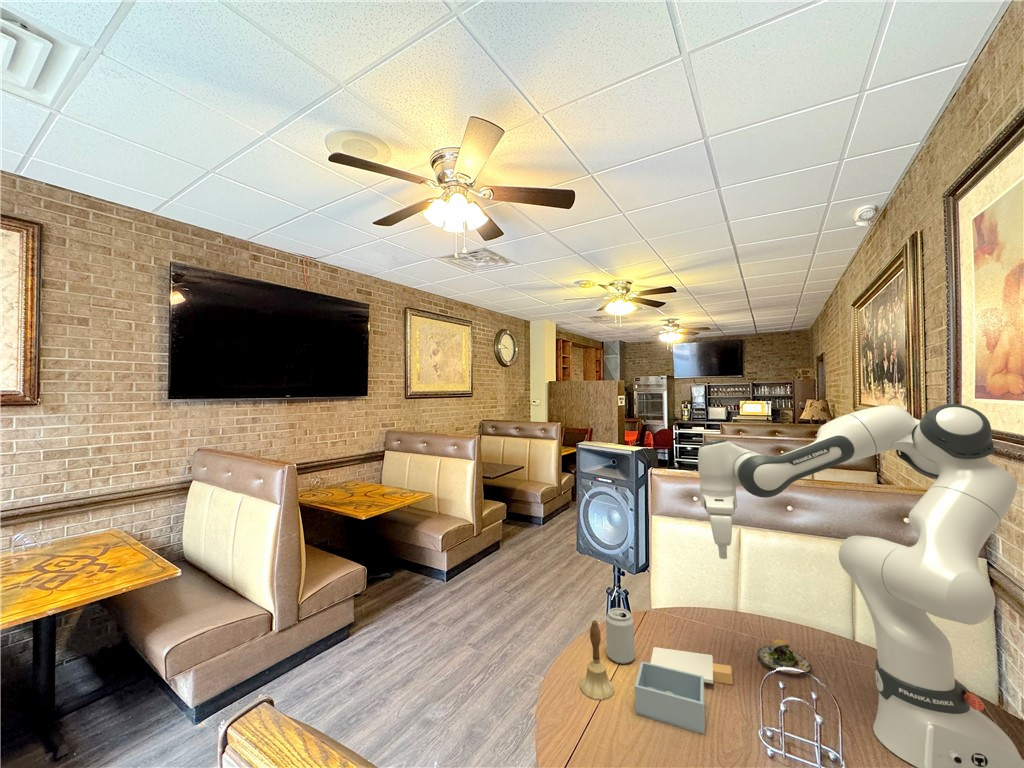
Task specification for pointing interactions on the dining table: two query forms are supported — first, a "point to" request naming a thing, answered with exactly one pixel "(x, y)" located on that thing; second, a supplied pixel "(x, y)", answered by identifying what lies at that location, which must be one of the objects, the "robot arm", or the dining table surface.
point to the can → (620, 635)
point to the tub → (671, 696)
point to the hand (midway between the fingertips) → (722, 552)
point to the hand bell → (596, 671)
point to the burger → (782, 657)
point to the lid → (693, 664)
